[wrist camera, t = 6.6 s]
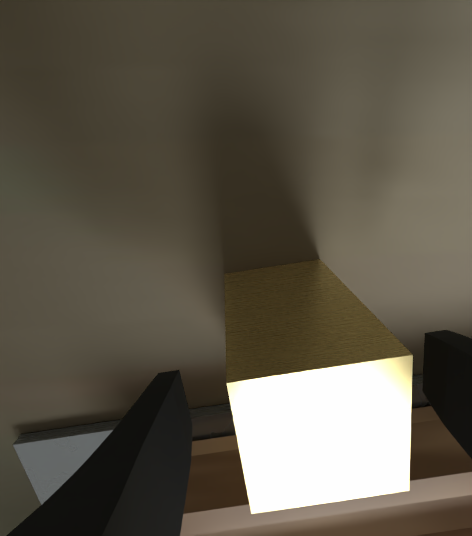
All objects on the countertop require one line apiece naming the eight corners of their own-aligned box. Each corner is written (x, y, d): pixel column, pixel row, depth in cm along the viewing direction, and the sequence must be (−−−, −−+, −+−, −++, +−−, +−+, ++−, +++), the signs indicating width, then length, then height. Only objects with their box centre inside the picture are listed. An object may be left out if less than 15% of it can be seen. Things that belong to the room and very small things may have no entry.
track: (580, 508, 19) (643, 570, 16) (87, 579, 19) (63, 652, 16) (623, 344, 15) (713, 386, 13) (20, 434, 16) (-25, 495, 13)
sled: (545, 514, 18) (656, 635, 13) (184, 566, 18) (171, 703, 14) (574, 384, 15) (725, 481, 11) (148, 448, 15) (116, 569, 11)
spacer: (325, 342, 15) (408, 490, 8) (238, 355, 15) (251, 513, 8) (319, 259, 14) (412, 354, 7) (224, 274, 14) (226, 383, 7)
